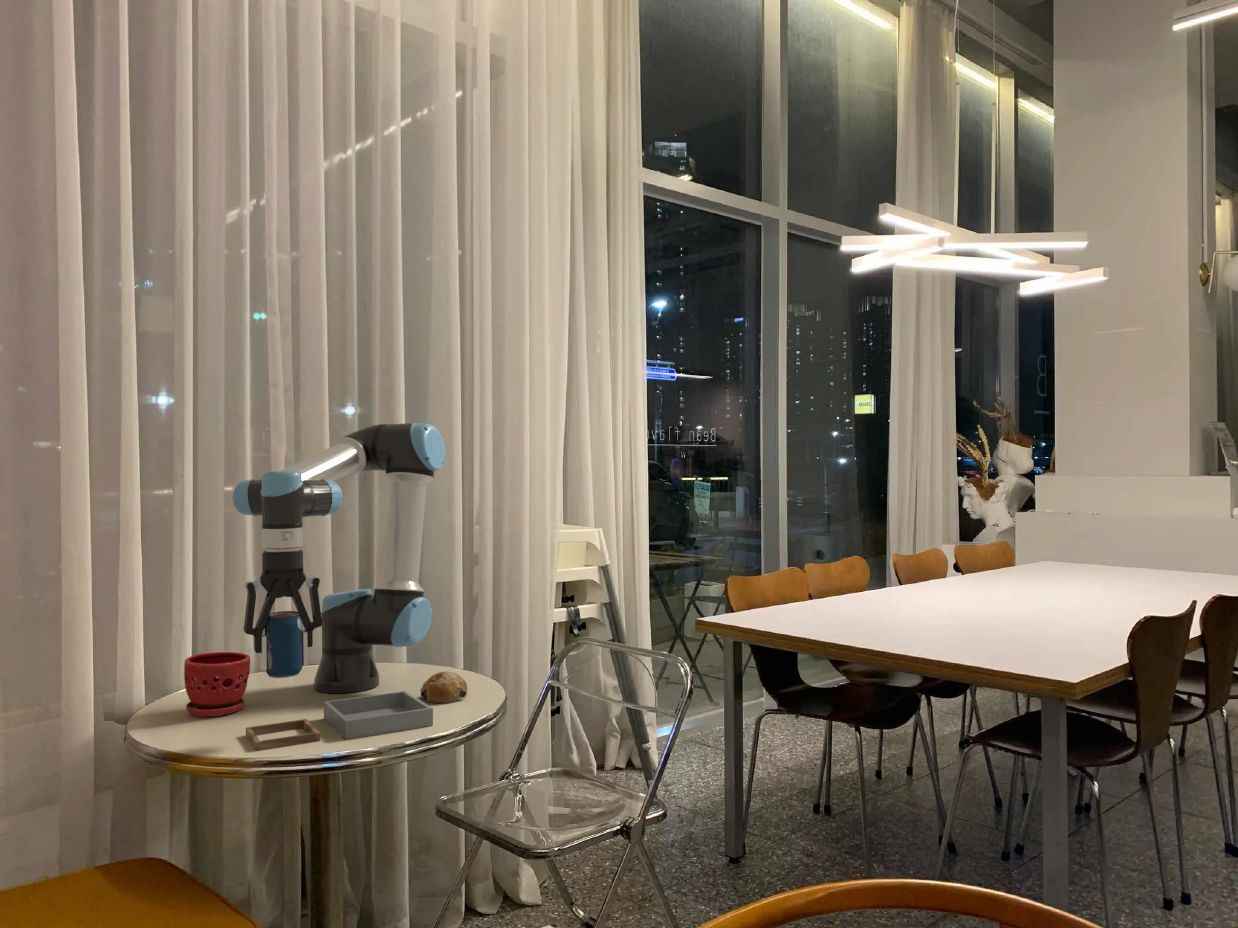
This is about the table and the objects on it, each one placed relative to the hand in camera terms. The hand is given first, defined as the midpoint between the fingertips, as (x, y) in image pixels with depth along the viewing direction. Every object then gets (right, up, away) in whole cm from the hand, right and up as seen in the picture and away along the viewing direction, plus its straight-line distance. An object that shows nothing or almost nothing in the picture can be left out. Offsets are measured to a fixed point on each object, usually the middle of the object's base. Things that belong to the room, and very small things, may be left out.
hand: (283, 666), depth 173 cm
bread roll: (+25, -15, +30) cm, 42 cm away
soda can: (0, -2, 0) cm, 2 cm away
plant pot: (-22, -14, +19) cm, 32 cm away
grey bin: (+16, -14, +10) cm, 23 cm away
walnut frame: (0, -14, -1) cm, 14 cm away
